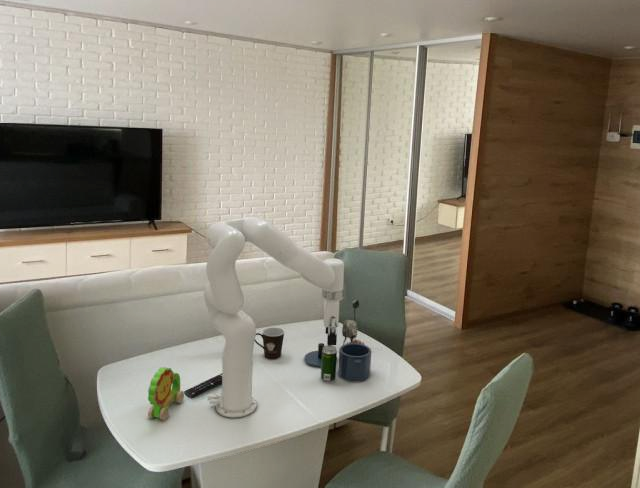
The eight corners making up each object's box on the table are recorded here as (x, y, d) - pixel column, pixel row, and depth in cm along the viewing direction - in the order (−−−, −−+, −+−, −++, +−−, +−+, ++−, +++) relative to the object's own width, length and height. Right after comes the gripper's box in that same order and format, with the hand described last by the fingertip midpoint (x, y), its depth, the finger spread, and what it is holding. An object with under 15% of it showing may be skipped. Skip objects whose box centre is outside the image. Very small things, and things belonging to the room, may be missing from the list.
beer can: (335, 383, 188) (337, 351, 187) (320, 382, 188) (322, 351, 186) (335, 376, 194) (337, 345, 192) (320, 375, 193) (322, 344, 192)
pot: (340, 385, 187) (341, 360, 186) (336, 363, 204) (337, 340, 202) (372, 385, 188) (374, 360, 187) (366, 363, 205) (367, 340, 204)
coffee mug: (287, 355, 208) (288, 331, 207) (273, 363, 201) (274, 338, 200) (265, 347, 215) (266, 324, 213) (251, 354, 207) (251, 330, 206)
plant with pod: (335, 345, 219) (338, 300, 217) (359, 341, 225) (361, 296, 223) (345, 353, 212) (347, 306, 210) (368, 348, 218) (371, 302, 216)
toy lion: (169, 397, 173) (170, 354, 171) (185, 399, 172) (185, 356, 170) (142, 424, 158) (142, 376, 156) (159, 427, 157) (159, 379, 155)
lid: (304, 368, 198) (305, 351, 197) (304, 353, 211) (304, 337, 210) (338, 368, 200) (339, 351, 199) (335, 353, 212) (336, 337, 212)
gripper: (320, 285, 195) (319, 329, 197) (323, 302, 178) (321, 349, 180) (340, 285, 196) (339, 329, 198) (345, 302, 179) (343, 349, 181)
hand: (330, 339), depth 189 cm, fingers open, 9 cm apart
